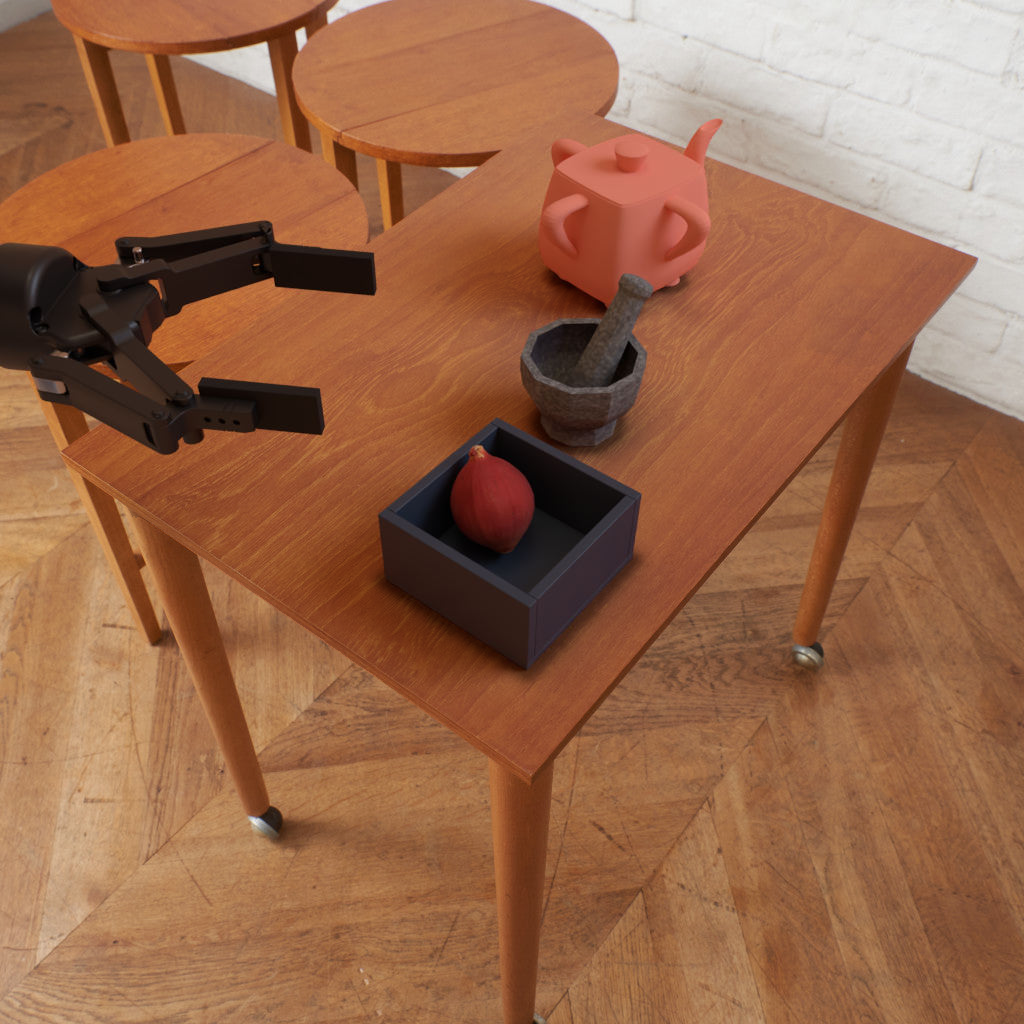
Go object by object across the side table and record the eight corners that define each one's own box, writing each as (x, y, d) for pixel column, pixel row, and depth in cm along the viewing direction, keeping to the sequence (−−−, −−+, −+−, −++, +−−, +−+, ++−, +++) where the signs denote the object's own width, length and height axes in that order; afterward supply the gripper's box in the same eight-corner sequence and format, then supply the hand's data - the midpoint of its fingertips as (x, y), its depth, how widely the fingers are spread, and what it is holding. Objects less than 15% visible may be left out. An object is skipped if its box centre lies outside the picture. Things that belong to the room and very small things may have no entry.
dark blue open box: (526, 670, 69) (529, 607, 64) (384, 579, 74) (377, 514, 69) (632, 558, 76) (642, 493, 71) (496, 481, 81) (496, 416, 76)
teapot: (536, 321, 95) (542, 189, 86) (537, 229, 106) (542, 102, 97) (720, 327, 95) (746, 195, 86) (702, 233, 106) (724, 107, 97)
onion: (461, 557, 76) (429, 453, 75) (535, 532, 77) (505, 428, 75) (476, 575, 71) (441, 463, 69) (555, 547, 72) (523, 436, 70)
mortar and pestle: (571, 479, 81) (581, 354, 72) (496, 416, 86) (496, 293, 77) (674, 419, 86) (694, 296, 78) (596, 363, 91) (608, 242, 82)
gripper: (100, 250, 74) (395, 276, 73) (-80, 494, 57) (302, 534, 56) (71, 150, 69) (388, 176, 68) (-138, 386, 52) (283, 427, 50)
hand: (350, 338), depth 62 cm, fingers open, 13 cm apart
